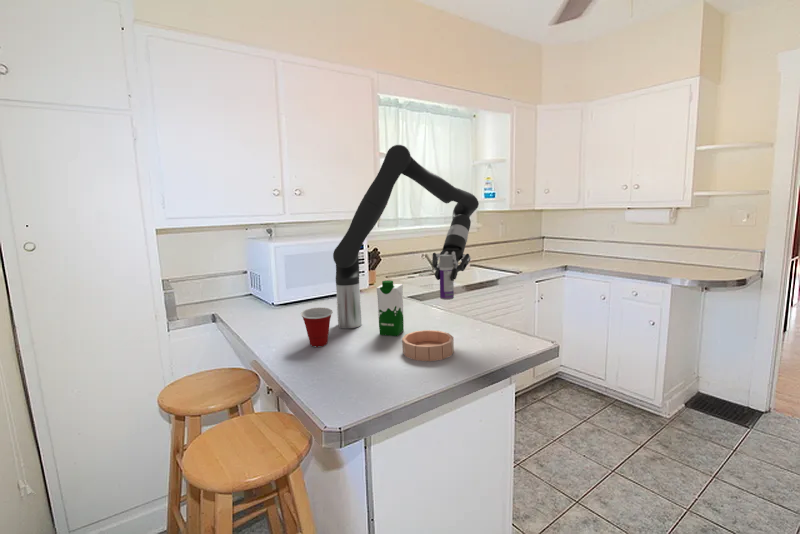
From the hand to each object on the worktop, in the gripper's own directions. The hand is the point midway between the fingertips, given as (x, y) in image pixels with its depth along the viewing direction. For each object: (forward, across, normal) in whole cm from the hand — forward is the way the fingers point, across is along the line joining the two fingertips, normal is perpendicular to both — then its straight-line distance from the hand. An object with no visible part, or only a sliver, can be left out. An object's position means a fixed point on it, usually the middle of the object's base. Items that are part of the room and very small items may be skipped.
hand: (444, 278), depth 136 cm
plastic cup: (+30, -40, +2) cm, 50 cm away
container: (+4, 0, +6) cm, 8 cm away
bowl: (+24, -1, +7) cm, 25 cm away
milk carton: (+15, -22, +16) cm, 31 cm away
